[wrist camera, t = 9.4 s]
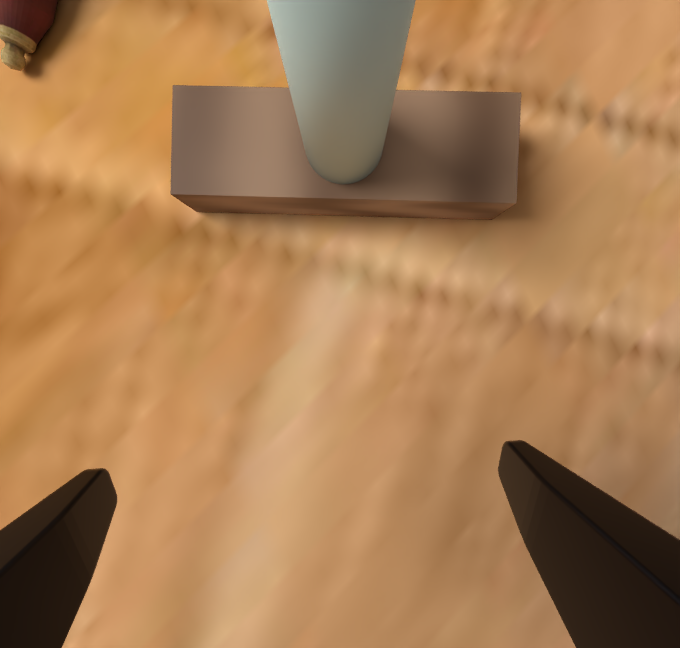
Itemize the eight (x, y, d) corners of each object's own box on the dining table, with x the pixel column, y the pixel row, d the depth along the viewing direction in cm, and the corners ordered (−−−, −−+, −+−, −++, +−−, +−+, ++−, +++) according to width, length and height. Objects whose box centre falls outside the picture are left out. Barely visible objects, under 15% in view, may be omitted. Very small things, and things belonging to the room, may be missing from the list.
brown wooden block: (495, 125, 20) (521, 92, 17) (491, 219, 20) (516, 203, 17) (198, 118, 21) (172, 85, 18) (196, 211, 21) (170, 194, 18)
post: (396, 160, 17) (542, -288, 4) (328, 198, 18) (274, -133, 5) (360, 90, 17) (399, -566, 4) (291, 129, 18) (131, -403, 5)
